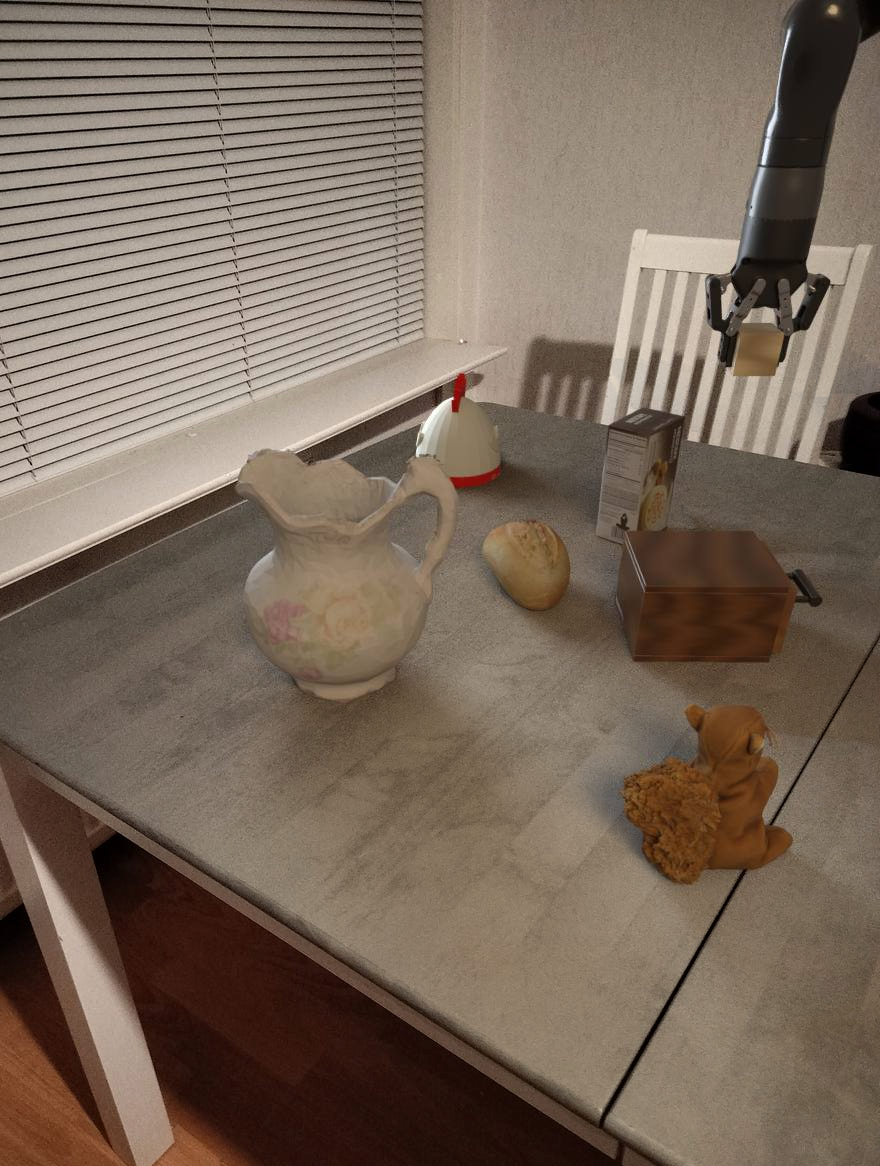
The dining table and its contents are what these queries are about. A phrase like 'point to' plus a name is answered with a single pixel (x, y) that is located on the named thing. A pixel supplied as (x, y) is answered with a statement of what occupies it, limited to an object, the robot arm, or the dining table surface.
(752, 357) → the block
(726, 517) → the dining table surface
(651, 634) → the cabinet
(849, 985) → the dining table surface
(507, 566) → the bread roll
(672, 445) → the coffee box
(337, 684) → the ceramic pitcher
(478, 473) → the white chicken egg cooker
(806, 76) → the robot arm
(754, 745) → the stuffed squirrel
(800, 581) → the drawer
